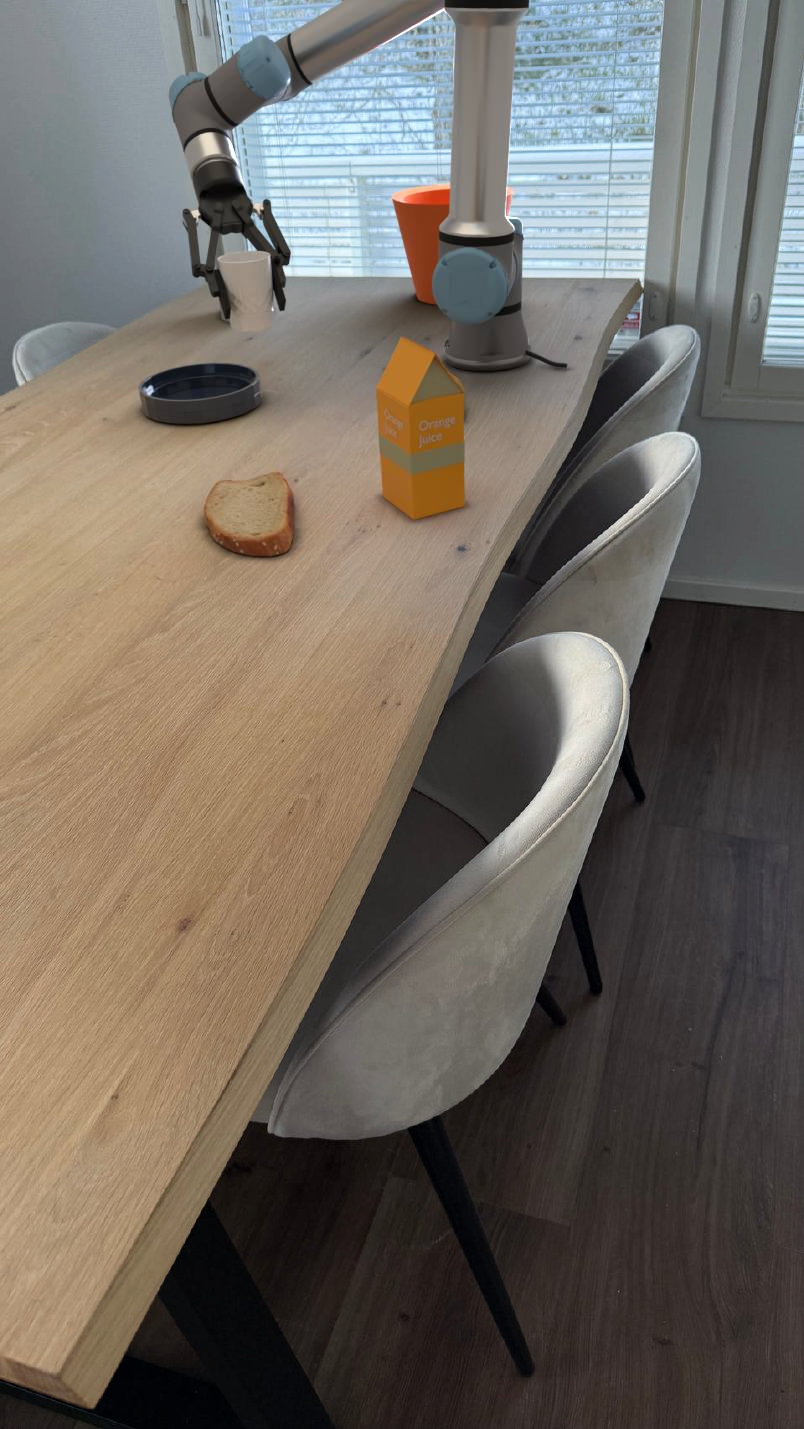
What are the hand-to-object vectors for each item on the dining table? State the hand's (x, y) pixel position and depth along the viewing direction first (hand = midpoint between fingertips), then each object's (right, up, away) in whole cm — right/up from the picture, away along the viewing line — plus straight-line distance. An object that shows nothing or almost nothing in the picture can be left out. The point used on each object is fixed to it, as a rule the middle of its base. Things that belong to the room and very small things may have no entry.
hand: (255, 309), depth 149 cm
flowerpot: (+33, +30, +67) cm, 80 cm away
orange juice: (+25, -33, -19) cm, 45 cm away
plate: (-11, -9, +16) cm, 22 cm away
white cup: (-1, -1, +5) cm, 5 cm away
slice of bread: (+4, -36, -21) cm, 42 cm away
